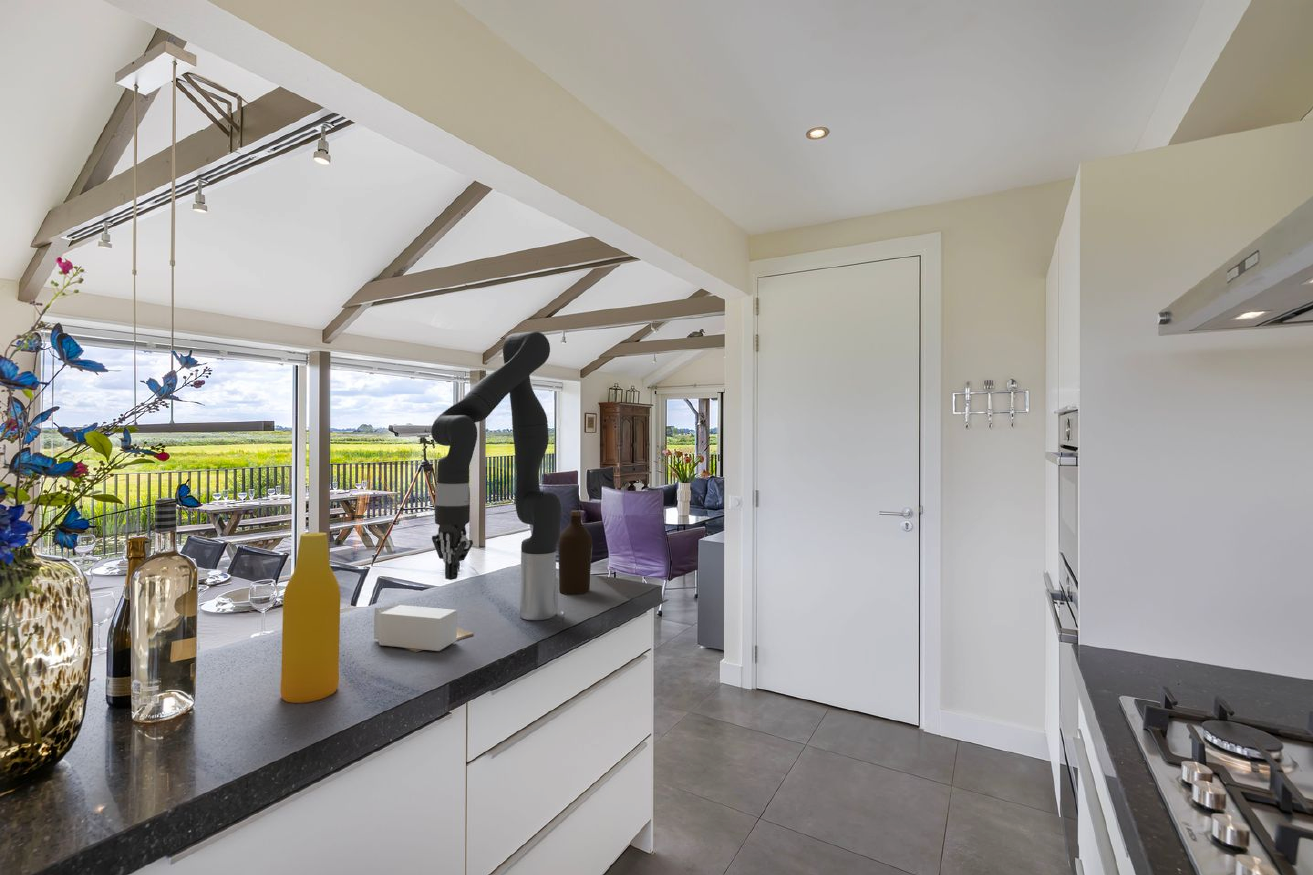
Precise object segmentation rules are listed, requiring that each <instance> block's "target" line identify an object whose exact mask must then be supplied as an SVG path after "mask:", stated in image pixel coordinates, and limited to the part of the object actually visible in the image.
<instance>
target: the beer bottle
mask: <svg viewBox="0 0 1313 875" xmlns="http://www.w3.org/2000/svg"><path fill="white" fill-rule="evenodd" d="M327 534H328V533H326V532H309V533H308V532H307V533H302V534H300V538H299V543H298V548H297V556H296V563H295V569H294V571H293V573H292V575H291V577H290V578H289V580H288V582H287V584H286V586H285V588H284V593H283V598H282V625H281V626H282V629H281V632H282V633H281V634H282V635H281V638H282V639H281V667H280V668H281V670H280V671H281V673H280V675H281V676H280V691H279V692H280V696H281V698H282V700H283V701H285V702H287V703H293V704H304V703H311V702H317V701H319V700H322V699H325V698H328V697H330V696H331V695H333V694H334V693H336V692H337V690H338V687H339V683H340V633H341V631H340V629H341V627H340V626H341V601H342V600H341V597H342V596H341V594H342V593H341V588H340V584H339V581H338V579H337V578H336V575H335V573H334V571H333V569H332V568H331V563H330V562H331V561H330V553H329V543H328V542H329V541H328V535H327Z"/></svg>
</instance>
